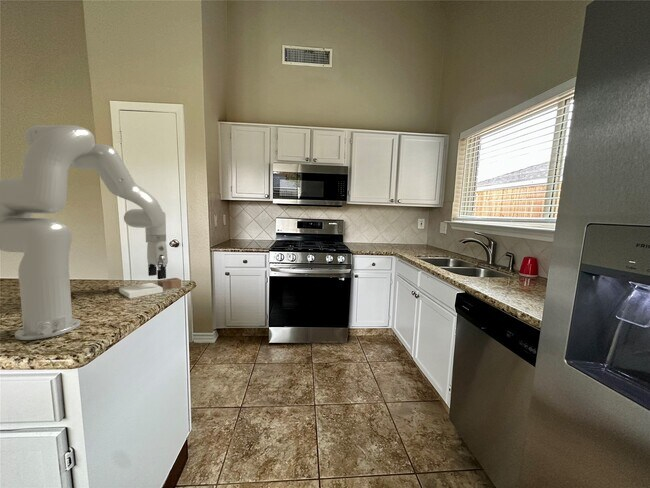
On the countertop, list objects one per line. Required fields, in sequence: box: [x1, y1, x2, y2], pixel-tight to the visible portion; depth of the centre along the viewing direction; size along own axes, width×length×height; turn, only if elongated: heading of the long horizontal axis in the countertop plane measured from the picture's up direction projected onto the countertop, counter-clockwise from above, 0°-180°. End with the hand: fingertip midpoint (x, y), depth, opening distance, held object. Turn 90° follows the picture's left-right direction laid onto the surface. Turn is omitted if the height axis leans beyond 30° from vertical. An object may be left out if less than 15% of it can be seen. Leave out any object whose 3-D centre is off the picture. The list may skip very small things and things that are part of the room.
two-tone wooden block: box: [157, 277, 183, 291], centre depth 120 cm, size 6×4×8 cm
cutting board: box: [118, 282, 164, 299], centre depth 111 cm, size 12×12×2 cm
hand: (157, 277), depth 115 cm, fingers open, 9 cm apart
